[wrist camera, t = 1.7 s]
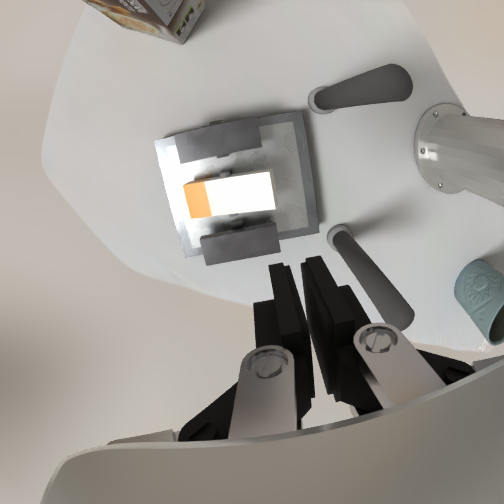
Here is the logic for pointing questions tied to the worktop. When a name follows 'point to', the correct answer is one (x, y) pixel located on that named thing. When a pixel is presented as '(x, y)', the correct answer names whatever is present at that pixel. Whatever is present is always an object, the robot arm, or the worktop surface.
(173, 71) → the worktop surface
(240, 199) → the block
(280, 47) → the worktop surface
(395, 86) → the dark grey post
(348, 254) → the dark grey rod
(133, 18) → the coffee box
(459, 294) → the teal green cup
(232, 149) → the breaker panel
